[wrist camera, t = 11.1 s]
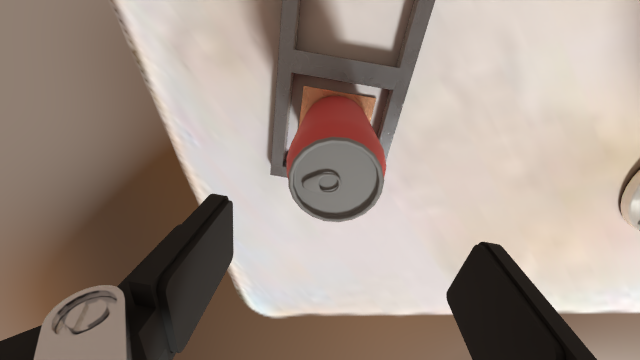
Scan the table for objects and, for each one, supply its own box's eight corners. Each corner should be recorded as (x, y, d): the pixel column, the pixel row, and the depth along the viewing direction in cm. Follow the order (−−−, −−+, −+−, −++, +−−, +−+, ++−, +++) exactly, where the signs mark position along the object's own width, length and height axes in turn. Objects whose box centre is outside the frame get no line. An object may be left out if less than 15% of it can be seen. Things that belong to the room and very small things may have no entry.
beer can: (299, 97, 23) (269, 133, 13) (367, 91, 23) (396, 123, 12) (306, 160, 26) (288, 231, 16) (368, 156, 26) (391, 227, 15)
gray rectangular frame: (455, -89, 17) (466, -101, 16) (374, 185, 28) (376, 192, 26) (294, -120, 17) (291, -135, 16) (273, 168, 27) (270, 174, 26)
